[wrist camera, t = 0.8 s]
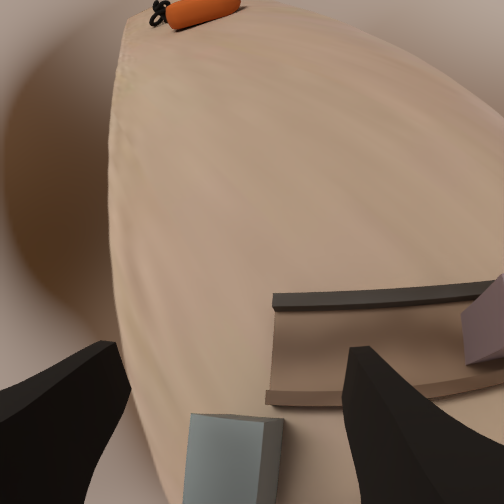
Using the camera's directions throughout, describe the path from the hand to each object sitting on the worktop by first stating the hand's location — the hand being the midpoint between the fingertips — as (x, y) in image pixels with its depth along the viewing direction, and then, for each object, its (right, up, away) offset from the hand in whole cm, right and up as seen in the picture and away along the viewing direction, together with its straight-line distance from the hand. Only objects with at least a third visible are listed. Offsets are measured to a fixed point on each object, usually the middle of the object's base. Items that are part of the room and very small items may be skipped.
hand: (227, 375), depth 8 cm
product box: (+1, -11, +9) cm, 15 cm away
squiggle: (-35, +98, +84) cm, 133 cm away
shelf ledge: (+13, -3, +11) cm, 17 cm away
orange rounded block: (-14, +80, +67) cm, 105 cm away
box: (+20, -3, +8) cm, 21 cm away
